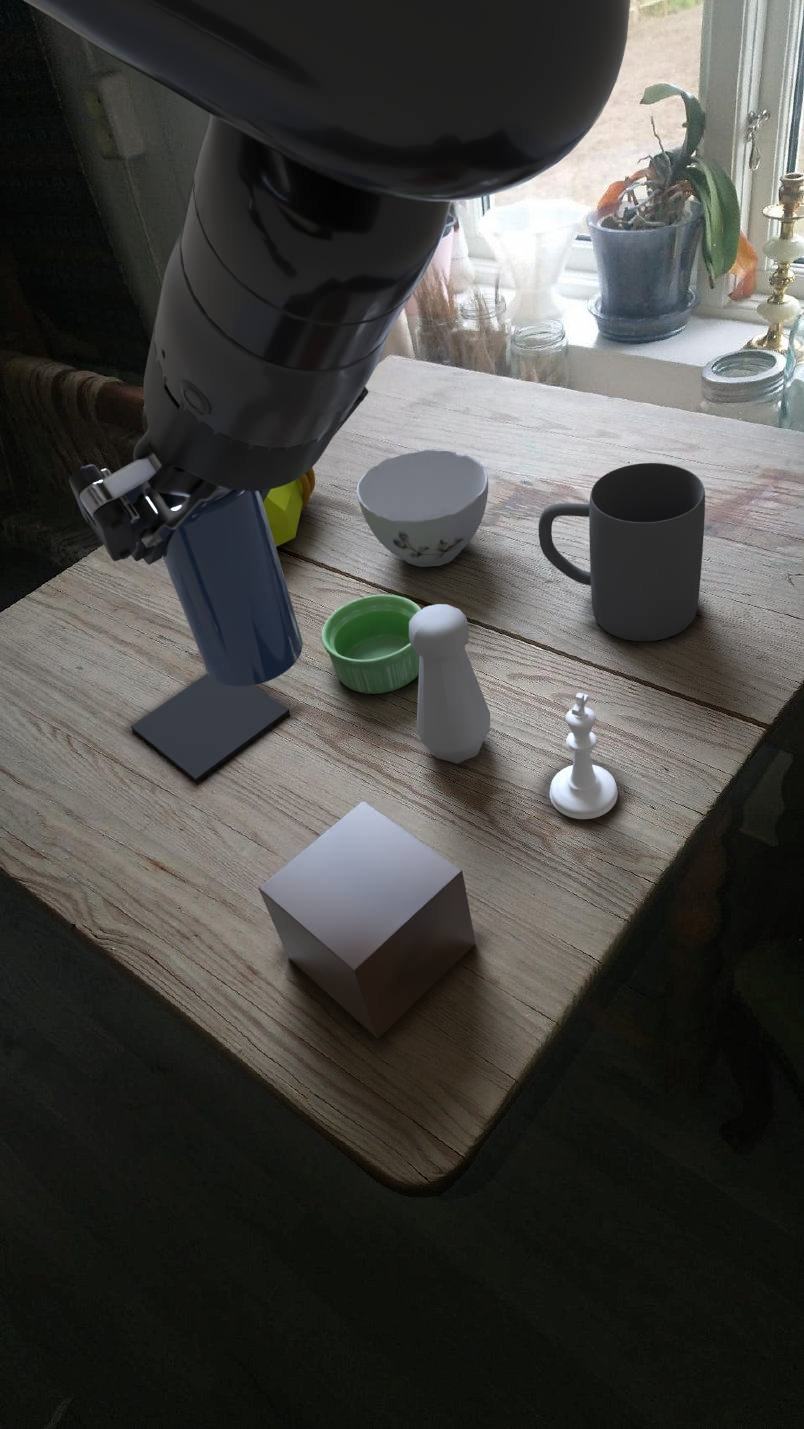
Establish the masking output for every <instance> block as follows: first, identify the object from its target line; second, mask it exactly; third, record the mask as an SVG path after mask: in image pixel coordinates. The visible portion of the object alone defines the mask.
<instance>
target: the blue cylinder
mask: <svg viewBox="0 0 804 1429" xmlns="http://www.w3.org/2000/svg"><path fill="white" fill-rule="evenodd" d="M185 498H186V499H188V498H189V497H187V496H185ZM146 499H147V500H148V502H149V503H150V505H151V506H152V507H153V509H154V510H155V512H156V513H157V510H156V508H155V507H154V505H153V504H152V502H151V501H150V499H149V498H148V496H147V497H146ZM157 515H158V513H157ZM169 535H170V536H169V539H168V542H167V545H166V547H165V550H164V553H163V556H162V559H163V561H164V564H165V567H166V569H167V571H168V574H169V577H170V580H171V583H172V585H173V587H174V590H175V592H176V593H175V594H176V595H177V598H178V600H179V603H180V606H181V609H182V611H183V614H184V616H185V619H186V621H187V625H188V627H189V629H190V632H191V634H192V638H193V640H194V642H195V645H196V647H197V650H198V653H199V655H200V658H201V660H202V663H203V667H204V668H205V670H206V674H207V673H208V674H209V675H210V676H211V677H212V678H213V679H214V680H216V681H217V682H219V683H222V684H225V685H228V686H236V687H244V686H257V685H261V684H265V683H267V682H270V681H273V680H274V679H277V678H278V677H280V676H282V675H283V674H285V673H286V672H288V670H290V669H291V668H292V667H293V666H294V665H295V664H296V663H297V661H298V660H299V658H300V656H301V653H302V651H303V646H304V645H303V644H304V643H303V638H302V634H301V631H300V627H299V623H298V620H297V616H296V614H295V609H294V606H293V602H292V599H291V595H290V591H289V588H288V585H287V581H286V578H285V575H284V570H283V567H282V564H281V561H280V557H279V554H278V550H277V547H276V546H275V542H274V539H273V535H272V532H271V528H270V525H269V521H268V518H267V514H266V511H265V507H264V504H263V500H262V497H261V493H260V491H240V490H232V491H231V492H230V493H229V494H227V495H224V496H221V497H218V498H217V499H216V500H215V501H214V502H213V503H212V504H211V505H210V506H209V507H208V508H207V509H206V510H205V512H204V513H203V514H202V515H201V516H200V517H199V518H198V519H197V520H196V521H195V522H193V523H190V524H188V525H185V526H182V527H180V528H177V529H174V530H172V532H171V533H170V534H169Z"/></svg>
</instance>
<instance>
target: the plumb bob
mask: <svg viewBox="0 0 804 1429" xmlns="http://www.w3.org/2000/svg"><path fill="white" fill-rule="evenodd" d="M315 487H316V474H315V470H314V466H313V467H312V468H311V469H310V470H309V471H307V472H306V473H305V474H304V475H302V476H301V477H300V478H298V479H296V480H295V481H293V482H291V483H289V484H286V485H284V486H281V487H278V488H274V489H271V490H270V492H269V493H268V495H267V497H266V499H265V501H264V502H263V504H264V507H265V511H266V514H267V518H268V521H269V525H270V528H271V532H272V535H273V539H274V542H275V546H276V548H277V547H279V546H280V545H283V544H285V543H287V542H289V541H292V540H293V539H296V534H297V530H298V526H299V522H300V518H301V513H302V511H303V510H304V509H305V508H306V506H307V505H308V504H309V501H310V497H311V495H312V493H313V492H314V489H315Z"/></svg>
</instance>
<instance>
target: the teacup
mask: <svg viewBox="0 0 804 1429" xmlns="http://www.w3.org/2000/svg"><path fill="white" fill-rule="evenodd" d="M488 495H489V475H488V472H487V468H486V467H485V466H484V465H483V463H482V462H481V461H480V460H478V459H476V458H474V457H473V456H471V455H469V454H467V453H464V454H458V453H457V452H456V451H453V450H448V449H440V448H438V449H436V448H429V449H422V450H418V451H414V452H407V453H404V454H400V455H398V456H394V457H387V458H386V459H383V460H382V461H380V462H379V463H378V464H377V465H374V466H371V467H370V468H369V469H368V470H367V471H366V472H365V473H364V474H363V476H362V477H361V478H360V480H359V481H358V484H357V487H356V497H357V501H358V504H359V507H360V509H361V512H362V515H363V517H364V520H365V521H366V522H365V523H366V524H367V525H368V527H369V529H370V531H371V532H372V534H373V535H374V537H375V538H376V539H377V541H378V542H379V543H380V544H381V545H382V546H383V547H384V548H385V549H387V550H388V551H389V552H390V553H391V554H392V555H394V556H396V557H397V558H400V559H401V560H403V561H405V562H406V563H407V564H410V565H413V566H416V567H420V568H422V567H423V568H427V567H441V566H443V565H445V564H448V563H451V561H453V560H454V559H455V558H456V557H457V556H458V555H459V554H460V553H461V551H462V550H463V549H464V548H465V547H466V546H467V545H468V544H470V542H471V540H472V539H473V538H474V536H475V535H476V533H477V531H478V530H479V528H480V525H481V523H482V521H483V518H484V515H485V511H486V507H487V502H488Z"/></svg>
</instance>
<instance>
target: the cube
mask: <svg viewBox="0 0 804 1429" xmlns="http://www.w3.org/2000/svg"><path fill="white" fill-rule="evenodd" d="M257 889H258V892H259V893H260V895H261V898H262V900H263V902H264V905H265V907H266V910H267V911H268V914H269V916H270V919H271V921H272V923H273V926H274V928H275V930H276V932H277V935H278V938H279V940H280V942H281V944H282V947H283V949H284V951H285V953H286V956H287V958H289V960H290V961H291V962H292V963H294V965H295V966H297V967H298V968H299V969H300V970H301V971H302V972H304V973H305V974H306V975H307V976H308V977H309V978H310V979H311V980H312V981H313V982H314V983H315V984H317V985H318V986H319V987H320V988H321V989H322V990H323V991H324V992H326V994H328V996H330V997H331V998H332V999H333V1000H334V1001H335V1002H336V1003H338V1004H339V1005H340V1007H342V1008H343V1009H344V1010H345V1011H346V1012H348V1013H349V1014H350V1015H351V1016H352V1017H353V1018H354V1019H355V1020H356V1021H357V1022H358V1023H359V1024H360V1025H362V1026H363V1027H364V1028H365V1029H366V1030H367V1031H368V1032H369V1033H370V1034H372V1035H373V1037H375V1038H376V1039H377V1040H379V1039H380V1038H381V1037H382V1036H383V1035H384V1034H385V1033H386V1032H387V1031H388V1030H389V1029H390V1028H391V1027H392V1026H393V1025H394V1024H396V1022H398V1020H400V1018H401V1017H403V1015H404V1014H405V1013H406V1012H408V1010H409V1009H411V1007H413V1005H415V1003H417V1001H419V999H420V998H422V997H423V996H424V995H425V994H426V993H427V992H428V991H429V990H430V989H431V988H432V987H433V986H434V985H435V984H436V983H437V982H438V981H439V980H440V979H441V978H442V977H443V976H444V975H445V974H446V973H447V972H448V971H449V970H450V969H451V968H452V967H453V966H454V965H455V964H456V963H458V961H459V960H460V959H461V958H462V957H463V956H464V955H465V954H467V953H468V951H470V950H471V948H472V947H473V946H475V945H476V944H477V942H476V936H475V933H474V926H473V921H472V916H471V910H470V905H469V900H468V898H469V897H468V893H467V888H466V883H465V878H464V871H463V870H462V869H461V868H460V867H459V866H457V865H455V864H454V863H453V862H451V861H450V860H449V859H447V858H445V857H444V856H443V855H441V854H440V853H438V852H437V851H436V850H434V848H432V847H430V846H429V845H427V844H426V843H424V842H423V841H422V840H420V839H419V838H418V837H416V836H415V835H414V834H412V833H410V832H409V831H407V830H406V829H405V828H403V827H402V826H400V825H399V824H398V823H396V822H395V821H393V820H392V819H390V818H389V817H388V816H386V815H385V814H384V813H382V812H381V811H379V810H378V809H376V808H375V807H373V806H372V805H370V804H369V803H368V802H366V801H365V800H362V801H360V802H359V803H358V804H356V805H355V806H354V807H353V808H352V809H351V810H349V811H348V812H347V813H346V814H345V815H344V816H342V817H341V818H340V819H339V820H338V821H337V822H335V823H334V824H333V825H331V826H330V827H329V828H328V829H326V830H325V831H324V832H323V833H322V834H320V835H319V836H318V837H317V838H316V839H315V840H313V841H312V842H311V843H310V844H308V845H307V846H306V847H305V848H304V849H302V851H301V852H299V853H298V854H296V855H295V856H294V857H293V858H292V859H290V860H289V861H288V862H287V863H286V864H285V865H283V866H282V867H281V868H280V869H278V870H277V871H276V872H274V874H272V876H270V877H269V878H268V879H267V880H265V881H264V882H263V883H262V884H261V885H259V886H258V887H257Z"/></svg>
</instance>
